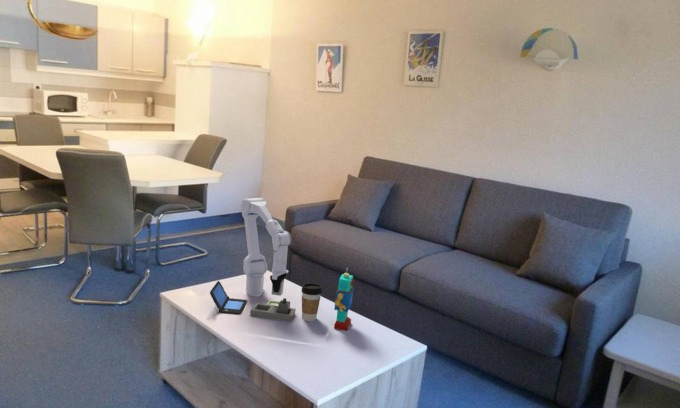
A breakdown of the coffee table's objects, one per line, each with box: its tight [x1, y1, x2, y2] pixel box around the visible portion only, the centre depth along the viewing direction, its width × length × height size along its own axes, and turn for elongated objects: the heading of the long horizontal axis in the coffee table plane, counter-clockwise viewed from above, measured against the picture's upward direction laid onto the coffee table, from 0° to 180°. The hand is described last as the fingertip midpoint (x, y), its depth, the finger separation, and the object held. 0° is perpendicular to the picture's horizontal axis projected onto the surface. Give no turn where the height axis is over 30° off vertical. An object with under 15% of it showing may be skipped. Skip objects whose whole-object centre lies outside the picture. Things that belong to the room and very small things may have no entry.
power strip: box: [249, 302, 296, 322], centre depth 217 cm, size 8×17×3 cm, turn 82°
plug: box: [271, 279, 285, 297], centre depth 224 cm, size 4×4×8 cm
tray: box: [266, 299, 280, 306], centre depth 226 cm, size 8×8×1 cm
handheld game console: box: [209, 280, 248, 316], centre depth 221 cm, size 16×13×9 cm
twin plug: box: [278, 297, 291, 314], centre depth 216 cm, size 4×4×8 cm
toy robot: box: [333, 267, 354, 332], centre depth 212 cm, size 12×6×25 cm, turn 168°
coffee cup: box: [301, 282, 323, 322], centre depth 216 cm, size 8×8×15 cm
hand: (277, 290), depth 225 cm, fingers closed on plug, 4 cm apart
